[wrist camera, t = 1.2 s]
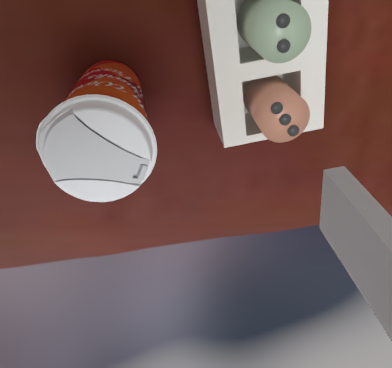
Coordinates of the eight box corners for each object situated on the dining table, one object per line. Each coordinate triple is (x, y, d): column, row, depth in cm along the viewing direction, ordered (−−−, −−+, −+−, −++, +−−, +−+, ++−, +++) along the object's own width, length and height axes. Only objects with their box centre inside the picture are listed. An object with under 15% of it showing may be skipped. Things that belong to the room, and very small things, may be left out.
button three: (241, 78, 35) (258, 100, 30) (286, 69, 35) (311, 90, 30) (245, 120, 38) (261, 147, 32) (287, 112, 38) (310, 138, 33)
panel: (180, -115, 30) (189, -127, 25) (302, -137, 30) (334, -154, 25) (214, 123, 41) (224, 147, 36) (301, 106, 41) (323, 128, 36)
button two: (234, -3, 31) (252, 7, 26) (284, -13, 31) (313, -5, 26) (238, 50, 34) (256, 68, 29) (285, 41, 34) (311, 58, 29)
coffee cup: (163, 66, 37) (175, 127, 25) (137, 136, 41) (135, 219, 28) (80, 33, 35) (45, 81, 22) (59, 110, 38) (20, 190, 26)
